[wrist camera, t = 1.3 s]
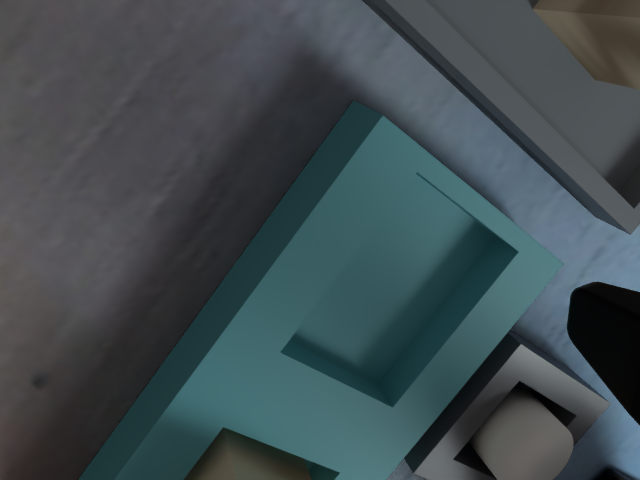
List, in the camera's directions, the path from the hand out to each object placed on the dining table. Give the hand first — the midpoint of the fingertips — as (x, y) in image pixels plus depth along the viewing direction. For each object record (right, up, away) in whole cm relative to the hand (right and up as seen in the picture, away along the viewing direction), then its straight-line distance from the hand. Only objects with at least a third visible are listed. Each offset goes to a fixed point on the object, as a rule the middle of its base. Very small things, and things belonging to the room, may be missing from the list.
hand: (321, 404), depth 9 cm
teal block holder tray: (-1, -3, +15) cm, 16 cm away
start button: (+8, -6, +18) cm, 21 cm away
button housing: (+8, -5, +19) cm, 22 cm away
